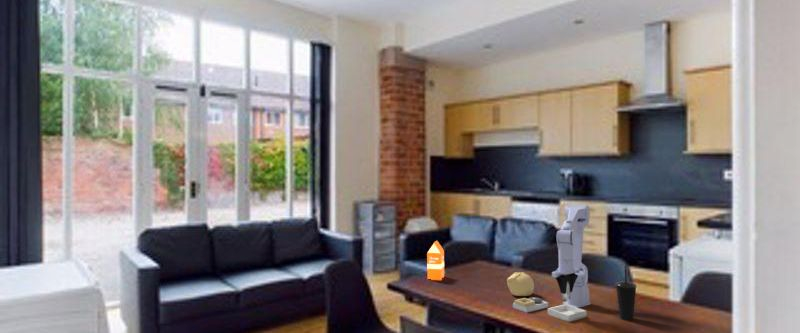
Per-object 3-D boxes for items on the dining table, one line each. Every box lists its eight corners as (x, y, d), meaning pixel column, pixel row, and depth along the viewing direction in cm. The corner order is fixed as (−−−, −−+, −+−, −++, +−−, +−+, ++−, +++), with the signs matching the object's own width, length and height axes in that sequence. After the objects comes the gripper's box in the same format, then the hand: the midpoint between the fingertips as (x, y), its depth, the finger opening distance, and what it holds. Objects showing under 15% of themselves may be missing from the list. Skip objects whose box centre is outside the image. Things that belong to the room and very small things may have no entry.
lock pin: (564, 296, 194) (564, 280, 194) (571, 298, 191) (571, 281, 191) (560, 298, 192) (559, 281, 192) (567, 300, 189) (566, 282, 189)
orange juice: (427, 279, 254) (426, 242, 253) (431, 275, 262) (430, 240, 262) (441, 280, 251) (440, 243, 251) (444, 276, 260) (444, 240, 260)
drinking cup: (630, 315, 191) (630, 266, 190) (641, 321, 183) (640, 270, 183) (612, 315, 190) (611, 266, 190) (621, 322, 183) (621, 271, 183)
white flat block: (534, 302, 210) (534, 294, 210) (548, 307, 203) (548, 298, 203) (513, 307, 203) (512, 299, 203) (526, 312, 196) (526, 304, 196)
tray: (565, 310, 198) (565, 304, 198) (586, 317, 189) (586, 310, 189) (547, 314, 193) (547, 308, 193) (568, 322, 184) (568, 315, 184)
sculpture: (514, 290, 230) (514, 268, 230) (537, 294, 223) (537, 271, 222) (503, 295, 221) (503, 272, 221) (527, 300, 214) (527, 276, 213)
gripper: (570, 255, 198) (570, 287, 198) (545, 259, 191) (546, 292, 191) (584, 258, 192) (584, 291, 192) (559, 262, 185) (560, 297, 185)
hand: (566, 292), depth 191 cm, fingers closed on lock pin, 3 cm apart
